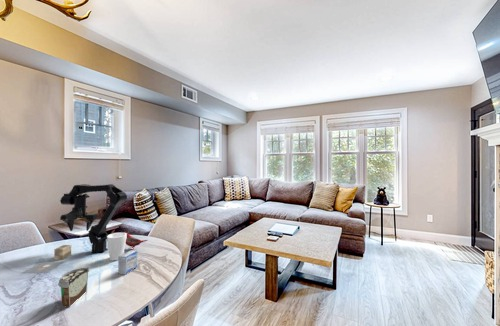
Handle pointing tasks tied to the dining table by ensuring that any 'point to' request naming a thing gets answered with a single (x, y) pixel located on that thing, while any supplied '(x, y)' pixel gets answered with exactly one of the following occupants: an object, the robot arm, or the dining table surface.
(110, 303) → the dining table surface
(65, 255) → the maple block
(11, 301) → the dining table surface
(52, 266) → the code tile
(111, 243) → the foam cup
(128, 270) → the medicine box
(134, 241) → the decorative bird figurine
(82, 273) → the food container
